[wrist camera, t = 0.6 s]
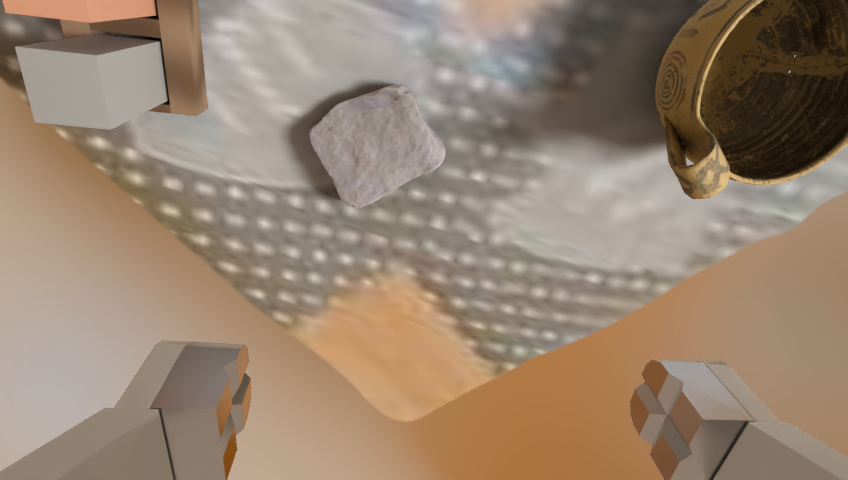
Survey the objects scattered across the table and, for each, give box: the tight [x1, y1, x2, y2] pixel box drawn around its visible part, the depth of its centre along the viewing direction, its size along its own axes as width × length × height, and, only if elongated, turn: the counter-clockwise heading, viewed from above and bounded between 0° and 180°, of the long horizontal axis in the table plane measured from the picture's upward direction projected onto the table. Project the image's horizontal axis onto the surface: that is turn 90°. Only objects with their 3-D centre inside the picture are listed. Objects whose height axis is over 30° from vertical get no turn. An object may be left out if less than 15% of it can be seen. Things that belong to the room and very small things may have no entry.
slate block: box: [15, 34, 168, 130], centre depth 36 cm, size 5×5×10 cm
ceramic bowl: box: [655, 0, 848, 199], centre depth 40 cm, size 22×17×15 cm
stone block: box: [309, 85, 446, 208], centre depth 47 cm, size 12×5×10 cm
